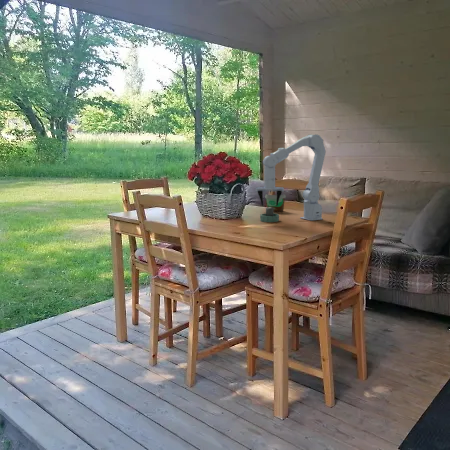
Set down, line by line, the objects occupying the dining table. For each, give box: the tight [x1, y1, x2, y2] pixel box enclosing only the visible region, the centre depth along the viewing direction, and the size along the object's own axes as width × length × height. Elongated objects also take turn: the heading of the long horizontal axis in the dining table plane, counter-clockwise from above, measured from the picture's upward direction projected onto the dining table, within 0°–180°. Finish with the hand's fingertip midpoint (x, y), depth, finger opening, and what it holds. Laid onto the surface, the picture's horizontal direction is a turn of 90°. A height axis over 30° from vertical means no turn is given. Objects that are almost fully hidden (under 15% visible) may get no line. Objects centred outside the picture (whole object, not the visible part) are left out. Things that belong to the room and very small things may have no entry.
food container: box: [264, 193, 287, 213], centre depth 272 cm, size 12×6×10 cm, turn 73°
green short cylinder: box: [259, 212, 280, 223], centre depth 245 cm, size 10×10×3 cm
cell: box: [265, 207, 274, 216], centre depth 244 cm, size 4×4×6 cm
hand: (269, 205), depth 243 cm, fingers open, 7 cm apart
